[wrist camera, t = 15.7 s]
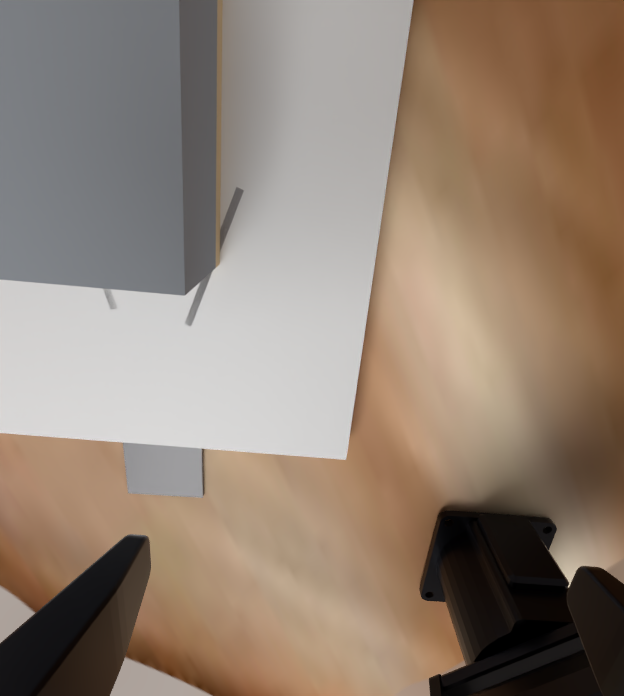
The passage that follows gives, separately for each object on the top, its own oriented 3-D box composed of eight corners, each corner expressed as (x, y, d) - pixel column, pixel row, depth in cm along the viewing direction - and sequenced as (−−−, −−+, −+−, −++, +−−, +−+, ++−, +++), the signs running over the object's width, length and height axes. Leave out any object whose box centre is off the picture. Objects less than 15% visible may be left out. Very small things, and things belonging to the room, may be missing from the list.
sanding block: (219, 264, 17) (184, 295, 12) (80, 251, 17) (-8, 278, 12) (222, -14, 14) (176, -114, 9) (50, -33, 13) (-88, -145, 9)
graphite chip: (206, 487, 24) (202, 497, 23) (134, 483, 23) (128, 493, 23) (205, 426, 22) (201, 435, 21) (127, 421, 22) (121, 430, 21)
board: (343, 441, 22) (346, 459, 20) (-12, 413, 21) (-35, 430, 20) (424, -128, 14) (437, -162, 12) (-144, -199, 13) (-199, -244, 12)
